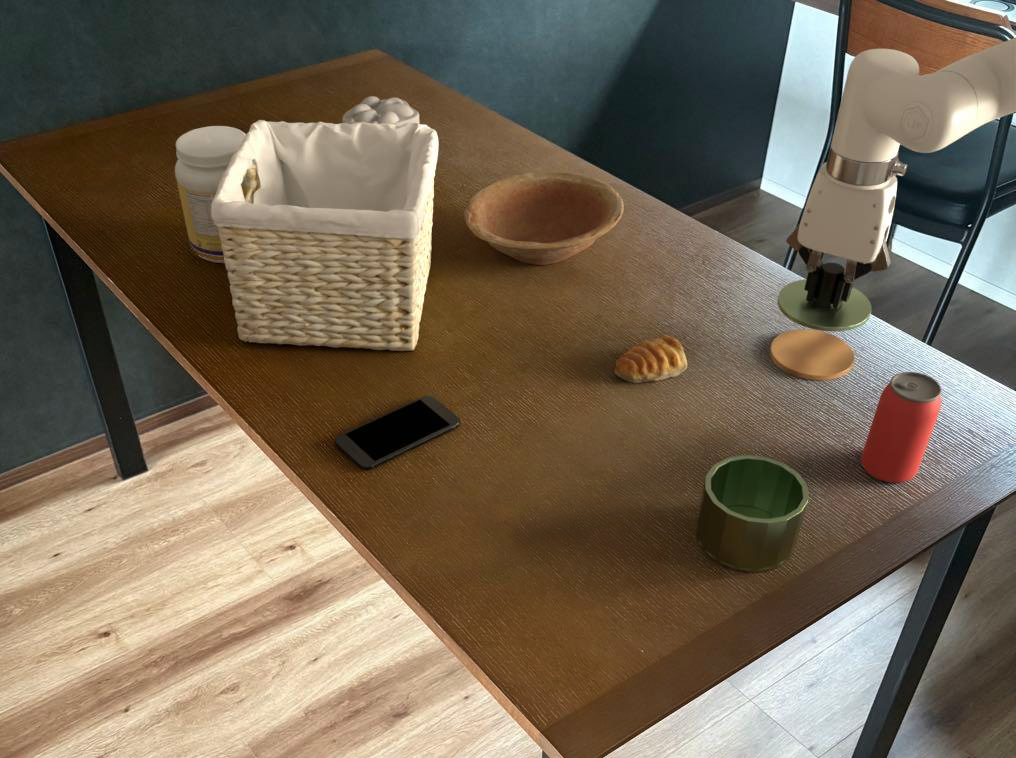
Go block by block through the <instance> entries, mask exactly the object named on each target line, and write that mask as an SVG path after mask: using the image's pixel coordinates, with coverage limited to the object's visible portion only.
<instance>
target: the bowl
mask: <svg viewBox="0 0 1016 758" xmlns="http://www.w3.org/2000/svg"><path fill="white" fill-rule="evenodd" d="M624 209H625V204H624V201H623V199H622V197H621V194H620V193H619V192H618V191H617V190H616V189H615V188H613V187H612V186H611V185H609V184H608V183H606V182H605V181H602V180H600V179H597V178H595V177H591V176H589V175H586V174H580V173H575V172H569V171H568V172H566V171H531V172H522V173H519V174H516V175H515V174H514V175H512V176H508V177H503V178H501V179H499V180H496V181H493V182H491V183H490V184H489V183H488V184H487V185H485V186H484V187H482V188H481V189H479V190H477V192H476V193H474V195H473V196H471V198H470V199H469V201H468V203H467V205H466V206H465V209H464V213H463V216H464V221H465V224H466V225H467V227H468V229H469V230H470V231H471V232H472V233H473V234H474V235H475V236H476V237H477V238H479V239H481V240H482V241H483V242H486V243H488V245H490V247H492V248H493V249H495V250H496V251H498V252H500V253H502V254H503V255H506V256H508V257H511V258H512V259H514V260H516V261H519V262H521V263H525V264H528V265H534V266H545V265H546V266H547V265H553V264H556V263H559V262H561V261H565V260H566V259H568V258H570V257H572V256H575V255H578V254H579V253H581V252H583V251H584V250H587V249H588V248H590V247H591V246H592V245H593V244H594V242H595V241H596V240H597V239H599V238H600V237H603V236H604V235H606V234H607V233H609V232H610V231H611V230H612V229H613V228H614V227H615V226H616V225H617V224H618V223H619V222H620V220H621V219H622V216H623V214H624V211H625V210H624Z"/></svg>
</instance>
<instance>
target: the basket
mask: <svg viewBox="0 0 1016 758" xmlns="http://www.w3.org/2000/svg"><path fill="white" fill-rule="evenodd" d="M419 123H420V122H419ZM419 123H406V124H403V125H402V126H400V127H399V126H396V125H393V124H384V123H381V124H373V123H366V122H360V123H353V124H347V123H342V122H340V123H333V122H323V121H318V122H307V123H305V122H286V121H266V120H265V119H258V120H257V121H256V122H254V123H251V124H250V128H249V130H248V132H247V133H245V134H246V135H245V137H244V139H243V141H242V143H241V145H240V146H239V148H238V150H237V152H236V153H235V154H234V155H233V156H232V158H231V160H230V163H229V166H228V167H227V169H226V171H225V172H224V174H223V176H222V179H221V181H220V183H219V185H218V189H217V193H216V195H215V197H214V199H213V201H212V204H211V216H212V219H213V221H214V224H215V225H216V226H218V230H219V237H220V240H221V242H222V245H221V247H222V250H223V254H224V256H225V257H224V263H223V264H224V266H225V269H226V271H227V278H228V281H229V284H230V285H229V290H230V293H231V297H232V300H231V301H232V302H231V303H232V306H233V309H234V311H235V312H234V317H235V320H236V324H237V328H236V329H237V330H236V331H237V335H238V339H239V340H241V341H243V340H244V341H243V342H247V341H249V342H247V343H256V344H277V345H283V344H284V345H292V346H293V345H295V346H316V347H321V346H323V347H330V348H336V349H337V348H338V349H339V348H353V349H354V348H355V349H370V350H374V351H386V350H387V351H399V352H404V351H405V352H407V351H409V352H410V351H414V350H415V349H416V346H417V345H418V340H419V335H420V334H419V332H420V323H421V320H422V315H423V308H424V307H423V306H424V303H425V293H426V291H427V285H428V278H429V275H430V270H431V264H432V260H431V259H432V233H433V232H432V231H433V230H432V228H433V214H434V197H435V188H434V185H435V180H434V179H435V176H436V170H437V163H438V157H439V137H438V136H439V135H438V132H437V131H436V129H434V128H431V126H428V125H427V124H422V123H420V124H419ZM244 176H245V178H246V182H247V183H248V188H249V190H248V191H247V195H246V197H245V199H244V195H243V191H242V186H241V183H242V181H243V178H244Z"/></svg>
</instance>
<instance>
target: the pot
mask: <svg viewBox="0 0 1016 758" xmlns="http://www.w3.org/2000/svg"><path fill="white" fill-rule="evenodd" d="M809 500H810V499H809V486H808V484H807V483H806V482H805V481H804V479H803V478H802V476H801V475H800V473H799V472H798V471H795V469H793V468H791V467H790V466H788V465H787V464H786V463H783V462H781V461H778V460H775V459H772V458H770V457H767V456H761V455H760V456H759V455H751V454H743V455H736V456H731V457H730V456H729V457H726V458H724V459H723V460H720V461H719V462H717V463H715V464H713V465H712V466H711V468H710V469H709V471H708V472H707V473H706V475H705V477H704V483H703V487H702V493H701V499H700V503H699V508H698V513H697V519H696V529H695V538H696V541H697V543H698V546H699V548H700V549H701V550H702V552H703V553H704V554H705V555H706V556H707V557H708V558H709V559H711V560H712V561H714V562H715V563H717V564H718V565H721V566H722V567H725V568H727V569H730V570H733V571H737V572H744V573H764V572H768V571H769V572H770V571H773V570H776V569H777V568H779V567H781V566H783V565H784V564H786V563H787V561H788V560H790V558H791V557H792V555H793V553H794V550H795V548H796V546H797V543H798V539H799V536H800V531H801V528H802V524H803V521H804V519H805V518H804V517H805V514H806V511H807V508H808V503H809Z"/></svg>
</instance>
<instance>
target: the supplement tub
mask: <svg viewBox="0 0 1016 758" xmlns="http://www.w3.org/2000/svg"><path fill="white" fill-rule="evenodd" d="M246 134H247V133H245V132H244V131H242V130H241V129H238V128H236V127H231V126H227V125H210V126H204V127H203V126H202V127H199V128H195V129H191V130H189V131H187V132H185V133H183V134H181V135H180V136H179V137H178V138H177V140H176V141H175V149H176V150H175V151H176V152H175V153H176V155H175V156H176V158H177V160H176V163H175V165H174V176H175V180H176V183H177V184H176V185H177V190H178V194H179V198H180V204H181V209H182V212H183V213H182V214H183V217H184V222H185V228H186V232H187V237H188V242H190V243H189V245H190V244H191V246H192V247H193V248H194V249H195V250H197V251H199V252H201V253H203V254H207V255H211V256H217V257H225V256H224V254H223V250H222V247H221V245H222V242H221V240H220V237H219V230H218V226H216V225H215V224H214V221H213V219H212V216H211V204H212V201H213V199H214V197H215V195H216V193H217V189H218V185H219V183H220V181H221V179H222V176H223V174H224V172H225V171H226V169H227V167H228V166H229V163H230V160H231V158H232V156H233V155H234V154H235V153H236V152H237V150H238V148H239V146H240V145H241V143H242V141H243V139H244V137H245V135H246ZM241 186H242V191H243V195H244V199H245V197H246V195H247V191H248V190H249V188H248V183H247V182H246V178H245V176H244V178H243V181H242V183H241ZM191 246H190V247H191ZM194 254H195V255H196V256H198V258H201V259H202V260H205V261H207V262H212V263H215V264H225V263H224V260H214V259H209V258H205V257H202V256H200V255H197V254H196V253H194Z"/></svg>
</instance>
